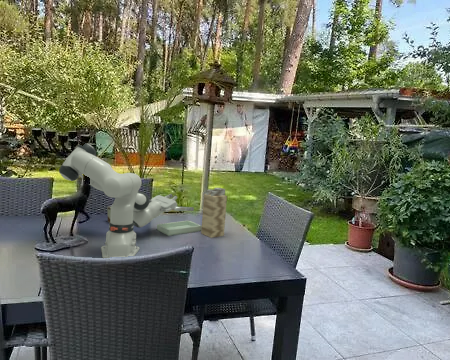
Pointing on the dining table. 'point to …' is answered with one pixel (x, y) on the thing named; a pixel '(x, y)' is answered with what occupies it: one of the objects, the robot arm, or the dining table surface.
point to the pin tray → (178, 228)
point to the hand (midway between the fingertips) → (174, 195)
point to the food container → (109, 213)
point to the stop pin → (184, 209)
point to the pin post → (214, 213)
